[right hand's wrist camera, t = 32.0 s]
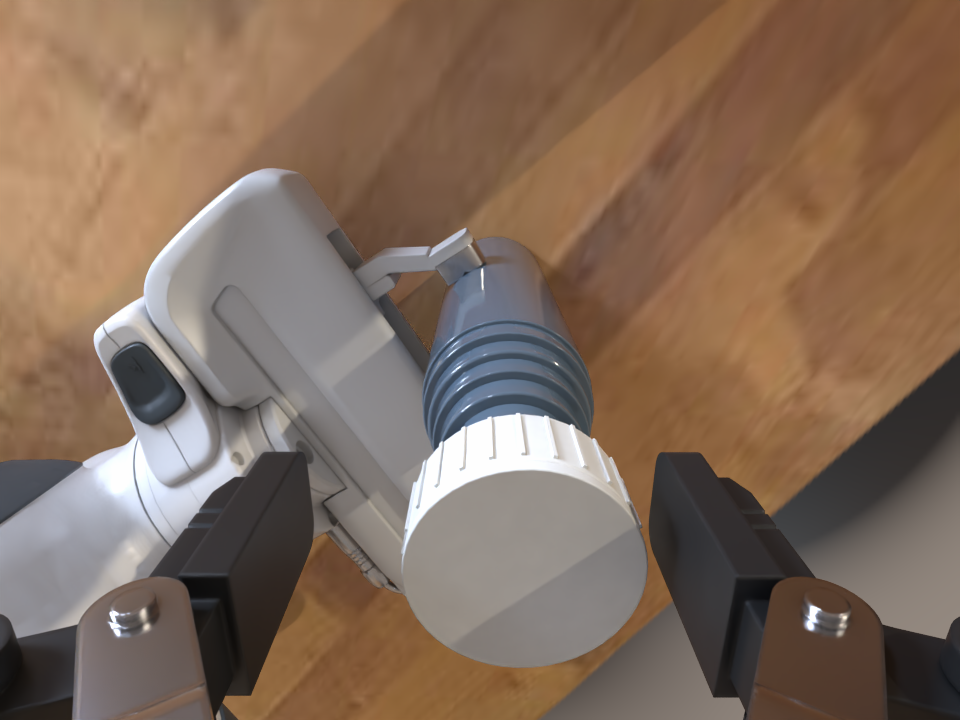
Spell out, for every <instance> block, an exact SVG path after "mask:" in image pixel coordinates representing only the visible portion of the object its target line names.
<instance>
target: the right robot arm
mask: <svg viewBox="0 0 960 720" xmlns="http://www.w3.org/2000/svg"><path fill="white" fill-rule="evenodd" d="M313 534H314V515H313V507H312V498H311V490H310V482H309V473H308V465H307V459H306V456H305V454H304V453H303V452H263V453H262V454H261V455H260V457H259V458H258V460H257V461H256V462H255V464H254V465H253V467H252V468H251V470H250V471H249V473H248V474H247V476H246V477H234V478H232V479H231V480H229V481H228V482H226V483H225V484H223V485H222V486H220V487H219V488H217V489H216V490H215V491H213V492H212V493H211V495H210V496H209V497H208V499H207V500H206V501H205V502H204V504H203V505H202V506H201V508H200V509H199V513H196V514H195V516H194V517H193V518H192V520H191V521H190V522H189V524H188V528H185V529H184V530H183V532H182V533H181V534H180V536H179V537H178V538H177V540H176V541H175V542H174V544H173V545H172V546H171V548H170V549H169V550H168V552H167V553H166V554H165V556H164V557H163V558H162V560H161V561H160V562H159V564H158V565H157V566H156V568H155V569H154V570H153V572H152V573H151V574H150V576H149V577H148V578H143V579H139V580H135V581H132V582H129V583H126V584H124V585H122V586H119V587H117V588H115V589H113V590H112V591H110V592H108V593H106V594H105V595H103V596H102V597H101V598H99V599H98V600H97V601H95V602H94V603H93V604H92V605H91V606H90V607H89V608H88V609H87V610H86V611H85V613H84V614H83V615H82V617H81V618H80V621H79V623H78V624H77V625H73V626H69V627H65V628H60V629H56V630H52V631H47V632H43V633H38V634H34V635H30V636H25V637H21V638H17V637H16V635H15V632H14V629H13V626H12V624H11V622H10V620H9V619H8V618H7V617H6V616H4V615H2V614H0V720H217V718H216V715H217V713H218V711H219V708H220V706H221V704H222V702H223V700H224V697H225V696H251V694H252V691H253V689H254V686H255V684H256V682H257V679H258V677H259V674H260V672H261V669H262V667H263V664H264V662H265V660H266V657H267V655H268V652H269V650H270V647H271V645H272V643H273V640H274V638H275V635H276V633H277V630H278V628H279V625H280V623H281V621H282V618H283V616H284V613H285V611H286V608H287V606H288V603H289V601H290V599H291V596H292V594H293V591H294V589H295V586H296V584H297V582H298V579H299V577H300V574H301V572H302V569H303V567H304V564H305V562H306V560H307V557H308V555H309V552H310V549H311V546H312V541H313ZM649 536H650V543H651V547H652V550H653V553H654V556H655V558H656V560H657V563H658V565H659V568H660V570H661V572H662V575H663V577H664V580H665V582H666V584H667V587H668V589H669V592H670V594H671V596H672V599H673V601H674V604H675V606H676V608H677V611H678V613H679V616H680V618H681V620H682V623H683V625H684V628H685V630H686V632H687V635H688V637H689V640H690V642H691V645H692V647H693V649H694V652H695V654H696V657H697V659H698V661H699V664H700V666H701V669H702V671H703V673H704V676H705V678H706V681H707V683H708V685H709V688H710V690H711V693H712V695H713V697H739V698H740V700H741V702H742V705H743V707H744V709H745V714H744V718H743V720H960V617H958V618H957V619H955V620H954V621H953V623H952V624H951V627H950V629H949V632H948V635H947V637H946V640H945V639H941V638H936V637H932V636H928V635H923V634H919V633H914V632H910V631H906V630H901V629H897V628H893V627H889V626H886V625H882V623H881V621H880V619H879V617H878V615H877V614H876V613H875V611H874V610H873V609H872V608H871V607H870V606H869V605H868V604H867V603H866V602H865V601H863V600H862V599H861V598H859V597H858V596H857V595H855V594H854V593H852V592H850V591H848V590H847V589H845V588H843V587H841V586H838V585H836V584H834V583H831V582H828V581H825V580H821V579H817V578H816V577H815V576H814V575H813V574H812V572H811V571H810V570H809V568H808V567H807V566H806V564H805V563H804V562H803V560H802V559H801V558H800V556H799V555H798V554H797V552H796V551H795V550H794V549H793V547H792V546H791V545H790V543H789V542H788V541H787V539H786V538H785V537H784V535H783V534H782V533H781V531H780V530H779V529H776V525H775V524H774V522H773V521H772V520H771V518H770V517H769V516H768V514H765V510H764V509H763V508H762V506H761V505H760V504H759V503H758V501H757V500H756V499H755V497H754V496H753V495H752V493H751V492H749V491H748V490H746V489H745V488H743V487H742V486H740V485H739V484H737V483H736V482H734V481H733V480H732V479H730V478H718V477H717V476H716V474H715V473H714V471H713V470H712V468H711V467H710V466H709V464H708V463H707V461H706V460H705V458H704V457H703V456H702V454H700V453H698V452H661V453H660V454H659V455H658V457H657V460H656V466H655V474H654V483H653V491H652V499H651V507H650V516H649Z"/></svg>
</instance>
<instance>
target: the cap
mask: <svg viewBox="0 0 960 720" xmlns="http://www.w3.org/2000/svg"><path fill="white" fill-rule="evenodd" d="M640 528H642V525H641V522H640V520H639V518H638V515H637V513H636V510H635V508H634V505H633V503H632V501H631V498H630V496H629V493H628V491H627V489H626V486H625V484H624V481H623V479H622V478H621V477H620V475H619V472H618V470H617V467H616V465H615V463H614V460H613V458H612V457H610V458H609V457H608V456H607V455H606V453H605V452H604V451H603V450H602V449H601V447H600V446H599V445H598V442H597V440H596V439H595V438H594V439H591V438H590V437H588V436H587V435H585V434H584V433H582V432H581V431H579V430H578V429H576V428H575V426H574V425H572V424H571V425H568V424H565V423H563V422H560V421H557V420H555V419H551V418H549V416H544V417H542V416H535V415H525V414H524V415H520V413H516V415H505V416H497V417H493V418H492V417H488V419H486V420H482V421H480V422H477V423H475V424H472V425H470V426H468V427H465V426H464V427H462V428H461V430H460V431H459V432H457V433H455V434H454V435H453V436H451V437H450V438H448V439H447V440H446V441H445V442H443V441H442V442H440V443H439V447H438V448H437V449H436V450H435V452H434V453H433V454H432V455H431V457H430V458H429V459H428V460H427V461H426V460H425V461H424V462H423V466H422V471H421V473H420V476H419V478H418V481H417V483H416V482H414V484H413V488H412V493H411V498H410V504H409V509H408V514H407V519H406V524H405V529H404V532H405V534H404V540H403V545H402V550H401V557H402V568H401V573H402V584H403V588H404V592H405V596H406V598H407V600H408V603H409V605H410V607H411V610H412V611H413V613H414V614H415V616H416V618H417V619H418V621H419V622H420V623H421V624H422V625H423V627H424V628H425V629H426V630H427V631H428V632H429V633H430V634H431V635H432V636H433V637H434V638H435V639H436V640H438V641H439V642H441V643H442V644H443V645H445V646H446V647H448V648H449V649H451V650H453V651H455V652H457V653H459V654H461V655H463V656H465V657H468V658H470V659H473V660H476V661H479V662H483V663H486V664H491V665H496V666H502V667H514V668H532V667H540V666H548V665H552V664H557V663H561V662H564V661H568V660H571V659H574V658H576V657H579V656H581V655H583V654H585V653H588V652H590V651H591V650H593V649H595V648H596V647H598V646H600V645H601V644H603V643H604V642H605V641H607V640H608V639H609V638H611V637H612V636H613V635H614V634H615V633H616V632H617V631H619V630H620V629H621V628H622V627H623V625H624V624H625V623H626V622H627V621H628V619H629V618H630V617H631V615H632V614H633V612H634V611H635V609H636V607H637V606H638V604H639V601H640V599H641V597H642V594H643V592H644V588H645V584H646V580H647V571H648V559H647V550H646V546H645V542H644V539H643V536H642V534H641V531H640Z"/></svg>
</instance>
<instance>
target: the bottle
mask: <svg viewBox="0 0 960 720" xmlns="http://www.w3.org/2000/svg"><path fill="white" fill-rule="evenodd" d="M476 243H477V245H478V246H479V248H480V249H481V251H482V253H483V254H484V256H485V262H484V263H483V264H482V265H481V266H480V267H479V268H477V269H475V270H473V271H471V272H464V275H463V277H462V278H461V279H459V280H458V281H456V282H455V283H453V284H452V285H450V286H448V285H447V284H446V288H445V293H444V297H443V301H442V306H441V310H440V314H439V318H438V323H437V327H436V331H435V336H434V340H433V344H432V348H431V353H430V357H429V361H428V366H427V370H426V374H425V378H424V383H423V389H422V406H423V420H424V426H425V430H426V433H427V436H428V438H429V441H430V443H431V447H432V449H433V452H435V450H436V449H437V448H438V447H439V443H440V442H442V441H443V442H445V441H446V440H447V439H448V438H450V437H451V436H453V435H454V434H455V433H457V432H459V431H460V430H461V428H462V427H464V426H465V427H468V426H470V425H472V424H475V423H477V422H480V421H482V420H486V419H488V417H492V418H493V417H497V416H505V415H516V413H520V415H524V414H525V415H535V416H542V417H544V416H549V418H551V419H555V420H557V421H560V422H563V423H565V424H568V425H571V424H572V425H574V426H575V428H576V429H578V430H579V431H581V432H582V433H584V434H585V435H587V436H588V437H590V434H591V427H592V422H593V415H594V401H593V394H592V387H591V380H590V377H589V373H588V370H587V368H586V366H585V364H584V361H583V359H582V357H581V355H580V353H579V350H578V348H577V346H576V344H575V342H574V340H573V337H572V335H571V333H570V331H569V329H568V327H567V324H566V322H565V320H564V318H563V316H562V314H561V311H560V309H559V307H558V305H557V303H556V301H555V298H554V296H553V294H552V292H551V290H550V287H549V285H548V283H547V281H546V279H545V277H544V274H543V272H542V270H541V268H540V266H539V264H538V262H537V260H536V258H535V257H534V255H533V254H532V253H531V252H530V251H529V250H528V249H527V248H526V247H524V246H523V245H521V244H520V243H518V242H516V241H514V240H511V239H507V238H502V237H489V238H484V239H481V240H478V241H476Z"/></svg>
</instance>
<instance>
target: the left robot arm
mask: <svg viewBox="0 0 960 720" xmlns="http://www.w3.org/2000/svg"><path fill="white" fill-rule="evenodd" d="M484 262H485V256H484V254H483V253H482V251H481V249H480V248H479V246H478V245H477V243H476V241H475V240H474V238H473V236H472V235H471V233H470V232H469V230H468V229H467V228H464V229H462V230H460V231H459V232H457V233H455V234H454V235H452V236H451V237H449V238H448V239H446V240H445V241H443V242H442V243H440V244H438V245H437V246H435V247H434V248H432V249H431V247H430V246H428V247H398V248H384V249H383V250H381V251H380V252H378V253H376V254H375V255H373V256H372V257H370V258H369V259H367V260H366V261H364V259H363V258H362V257H361V255H360V254H359V252H358V251H357V249H356V248H355V247H354V245H353V244H352V242H351V241H350V240H349V238H348V237H347V235H346V234H345V232H344V231H343V230H342V228H341V227H340V225H339V224H338V223H337V221H336V220H335V218H334V217H333V215H332V214H331V213H330V211H329V210H328V208H327V207H326V206H325V204H324V203H323V201H322V200H321V199H320V197H319V196H318V194H317V193H316V191H315V190H314V189H313V187H312V186H311V184H310V183H309V181H308V180H307V179H306V177H305V176H303V175H302V174H301V173H299V172H295V171H290V170H284V169H275V168H268V169H262V170H258V171H255V172H252V173H250V174H248V175H246V176H245V177H243V178H241V179H240V180H238V181H237V182H236V183H234V184H233V185H232V186H230V187H229V188H228V189H226V190H225V191H224V192H223V193H221V194H220V195H219V196H218V197H217V198H215V199H214V200H213V201H212V202H211V203H210V204H208V205H207V206H206V207H205V208H204V209H203V210H202V211H200V212H199V213H198V214H197V215H196V216H195V217H194V218H193V219H192V220H191V221H190V222H189V223H188V224H187V225H186V226H185V227H184V228H183V229H182V230H181V231H180V232H179V233H178V234H177V235H176V236H175V237H174V238H173V239H172V240H171V241H170V242H169V243H168V244H167V245H166V247H165V248H164V249H163V250H162V251H161V252H160V254H159V255H158V256H157V257H156V259H155V260H154V262H153V263H152V265H151V267H150V269H149V271H148V273H147V276H146V280H145V284H144V296H143V297H141V298H139V299H138V300H136V301H134V302H132V303H131V304H129V305H128V306H126V307H124V308H123V309H122V310H120V311H119V312H117V313H116V314H115V315H113V316H112V317H111V318H109V319H108V320H107V321H106V322H105V323H103V324H102V325H101V326H100V327H99V328H98V329H97V331H96V332H95V334H94V345H95V349H96V351H97V354H98V356H99V358H100V360H101V362H102V364H103V366H104V368H105V370H106V372H107V373H108V375H109V377H110V379H111V381H112V383H113V385H114V387H115V389H116V391H117V393H118V395H119V397H120V399H121V401H122V403H123V405H124V407H125V410H126V412H127V414H128V416H129V418H130V421H131V423H132V425H133V428H134V430H135V433H136V435H135V436H134V437H133V439H132V440H131V441H130V442H129V443H128V444H126V445H124V446H121V447H117V448H113V449H110V450H107V451H104V452H101V453H99V454H97V455H94V456H93V457H91V458H89V459H88V460H86V461H84V462H83V463H81V462H76V461H69V460H52V459H50V460H10V461H5V462H1V463H0V614H2V615H4V616H6V617H7V618H8V619H9V620H10V622H11V624H12V626H13V629H14V632H15V635H16V637H17V638H21V637H25V636H30V635H34V634H38V633H43V632H47V631H52V630H56V629H60V628H65V627H69V626H73V625H77V624H78V623H79V621H80V618H81V617H82V615H83V614H84V613H85V611H86V610H87V609H88V608H89V607H90V606H91V605H92V604H93V603H94V602H95V601H97V600H98V599H99V598H101V597H102V596H103V595H105V594H106V593H108V592H110V591H112V590H113V589H115V588H117V587H119V586H122V585H124V584H126V583H129V582H132V581H135V580H139V579H143V578H148V577H149V576H150V574H151V573H152V572H153V570H154V569H155V568H156V566H157V565H158V564H159V562H160V561H161V560H162V558H163V557H164V556H165V554H166V553H167V552H168V550H169V549H170V548H171V546H172V545H173V544H174V542H175V541H176V540H177V538H178V537H179V536H180V534H181V533H182V532H183V530H184V529H185V528H188V524H189V522H190V521H191V520H192V518H193V517H194V516H195V514H196V513H199V509H200V508H201V506H202V505H203V504H204V502H205V501H206V500H207V499H208V497H209V496H210V495H211V493H212V492H213V491H215V490H216V489H217V488H219V487H220V486H222V485H223V484H225V483H226V482H228V481H229V480H231V479H232V478H234V477H246V476H247V474H248V473H249V471H250V470H251V468H252V467H253V465H254V464H255V462H256V461H257V460H258V458H259V457H260V455H261V454H262V453H263V452H303V453H304V454H305V456H306V459H307V465H308V473H309V482H310V490H311V498H312V507H313V515H314V534H313V539H315V538H317V537H318V536H320V535H322V534H324V533H326V534H327V535H328V536H329V538H330V539H331V540H332V541H333V542H334V543H335V544H336V546H337V547H338V548H339V549H340V550H341V551H342V552H343V553H344V554H345V555H346V556H348V557H349V558H350V559H351V560H352V561H353V562H354V563H355V564H356V565H357V566H358V568H359V569H360V572H361V573H362V575H363V576H364V578H365V579H366V580H367V581H368V582H369V583H370V584H372V585H373V586H374V587H376V588H378V589H380V588H383V587H385V588H386V589H388V590H390V591H392V592H395V593H398V594H403V595H405V592H404V588H403V584H402V573H401V568H402V557H401V550H402V545H403V540H404V534H405V532H404V529H405V524H406V519H407V514H408V509H409V504H410V498H411V493H412V488H413V484H414V482H416V483H417V481H418V478H419V476H420V473H421V471H422V466H423V462H424V461H425V460H426V461H427V460H428V459H429V458H430V457H431V455H432V454H433V453H434V452H433V449H432V447H431V443H430V441H429V438H428V436H427V433H426V430H425V426H424V420H423V406H422V389H423V383H424V378H425V374H426V370H427V366H428V361H429V357H430V353H429V351H428V350H427V349H426V347H425V346H424V344H423V343H422V342H421V340H420V339H419V337H418V336H417V334H416V333H415V332H414V330H413V329H412V327H411V326H410V325H409V323H408V322H407V320H406V319H405V317H404V316H403V315H402V313H401V312H400V310H399V309H398V308H397V306H396V305H395V303H394V302H393V300H392V299H391V298H390V296H389V295H388V293H387V292H388V291H390V290H391V289H393V288H394V287H395V285H396V284H397V282H398V280H399V278H400V277H401V273H404V272H420V271H437V270H438V272H439V273H440V275H441V276H442V277H443V279H444V280H445V282H446V283H447V285H448V286H450V285H452V284H453V283H455V282H456V281H458V280H459V279H461V278H462V277H463V275H464V272H471V271H473V270H475V269H477V268H479V267H480V266H481V265H482V264H483V263H484ZM390 580H391V581H392V582H391V581H390ZM216 718H217V720H238V719H237V718H236V717H235V716H234V715H233V714H232V712H231V711H230V710H229V709H228V708H227V707H226V706H225V705H224V704H223V703H222V704H221V706H220V708H219V711H218V713H217V715H216Z"/></svg>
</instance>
